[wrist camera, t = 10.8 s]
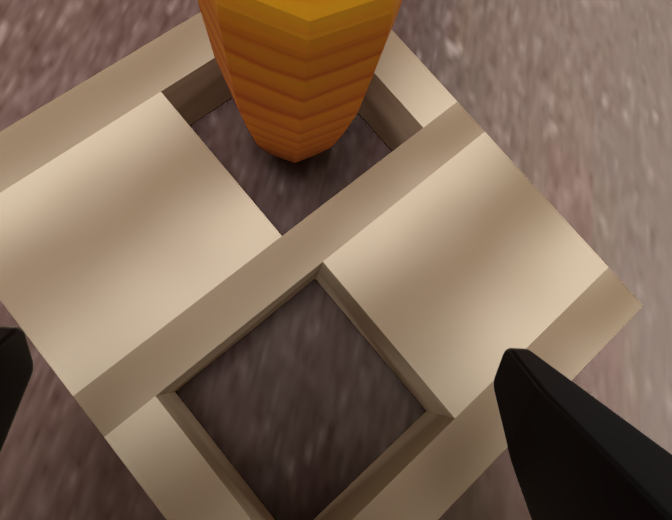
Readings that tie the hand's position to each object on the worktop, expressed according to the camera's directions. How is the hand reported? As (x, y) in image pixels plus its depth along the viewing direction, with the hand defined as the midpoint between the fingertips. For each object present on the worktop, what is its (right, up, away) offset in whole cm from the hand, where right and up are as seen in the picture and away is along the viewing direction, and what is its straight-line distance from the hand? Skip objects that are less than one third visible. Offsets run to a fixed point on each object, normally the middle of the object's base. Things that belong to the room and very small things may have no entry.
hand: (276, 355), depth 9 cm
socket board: (0, +1, +10) cm, 10 cm away
